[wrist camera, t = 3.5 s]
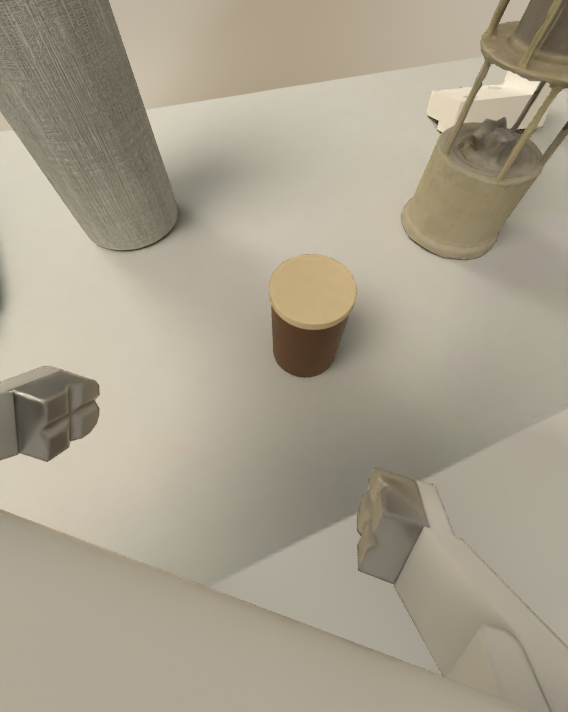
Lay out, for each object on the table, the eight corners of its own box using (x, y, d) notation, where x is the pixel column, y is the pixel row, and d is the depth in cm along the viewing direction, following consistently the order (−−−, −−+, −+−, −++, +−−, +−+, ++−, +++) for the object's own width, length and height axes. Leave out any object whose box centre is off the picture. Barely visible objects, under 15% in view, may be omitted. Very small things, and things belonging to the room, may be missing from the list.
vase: (198, 212, 35) (15, -454, 11) (128, 267, 31) (-377, -547, 7) (136, 177, 38) (-121, -424, 13) (66, 224, 34) (-460, -483, 10)
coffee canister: (344, 370, 27) (370, 314, 19) (280, 385, 26) (280, 332, 18) (325, 316, 29) (341, 247, 22) (266, 328, 28) (260, 261, 21)
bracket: (507, 114, 46) (536, 41, 41) (542, 126, 42) (580, 46, 36) (424, 122, 45) (442, 49, 39) (450, 136, 40) (474, 55, 35)
